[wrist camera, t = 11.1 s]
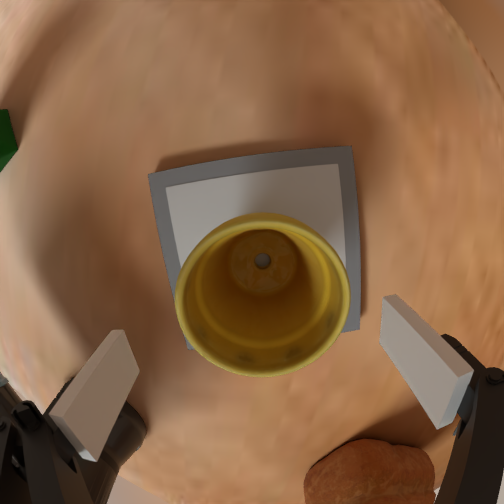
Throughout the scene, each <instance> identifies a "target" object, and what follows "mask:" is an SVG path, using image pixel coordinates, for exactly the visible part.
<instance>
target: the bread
mask: <svg viewBox="0 0 504 504" xmlns="http://www.w3.org/2000/svg"><path fill="white" fill-rule="evenodd" d="M434 481H435V472H434V466H433V464H432V462H431V460H430V458H429V456H428V455H427V453H426V452H424V451H423V450H421V449H419V448H416V447H413V448H412V447H409V446H405V445H390V444H389V443H388V442H386V441H382V440H374V439H365V438H364V439H360V440H356V441H352V442H349V443H347V444H346V445H344V446H342V447H340V448H339V449H337V450H335V451H334V452H332V453H331V454H330V455H328V456H327V457H326V458H324V459H323V460H321V461H320V462H318V463H317V464H315V465H314V467H313V468H311V469H310V470H309V471H308V473H307V474H306V477H305V480H304V494H305V503H306V504H434V501H435V497H436V494H435V492H434V491H433V486H434Z"/></svg>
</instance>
